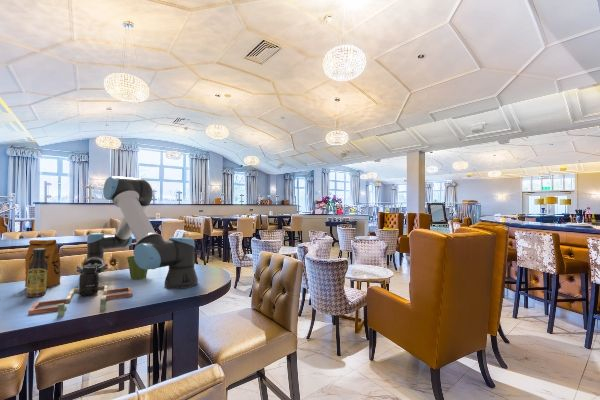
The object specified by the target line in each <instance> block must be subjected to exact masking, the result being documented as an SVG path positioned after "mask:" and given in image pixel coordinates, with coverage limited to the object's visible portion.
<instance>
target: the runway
mask: <svg viewBox="0 0 600 400" xmlns="http://www.w3.org/2000/svg"><path fill="white" fill-rule="evenodd" d="M101 290H103V295H102V297H100V302H99V303H100V305H99V306H100V307H99V310H100V311H104V310H106V309H107V308H106V307H107V306H106V304H107V301H108V300H116V299H123V298H128V297H129V298H130V297H133V289H132V286H127V287H118V288H111V289H109V284H105V285H98V291H101ZM76 293H79V287H78V288H72V289H70V292H69V293H68V294H67V296H66V298H59V299H53V300H52V299H51V300H45V301H36V302H35V303H33V305H32V306H31V307H30V308H29V309H28V316H30V315H37V314H45V313H53V312H57V317H58V318H60V317H64V316H65V312H66V311H67V308H68V307H67V304H69V303H71V301H72V299H73V297H74V294H76Z"/></svg>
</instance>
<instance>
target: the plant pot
mask: <svg viewBox="0 0 600 400" xmlns="http://www.w3.org/2000/svg"><path fill="white" fill-rule="evenodd" d="M125 258H126V259H127V263H128V268H129V277H130V279H131V280H133V281H134V280H143V279H146V278H147V274H148V270H149V269H148V270H145V269H141V268H140V267H139V266H138V265H137V264H136V262H135V260H134V255H131V256H127V257H125Z"/></svg>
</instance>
